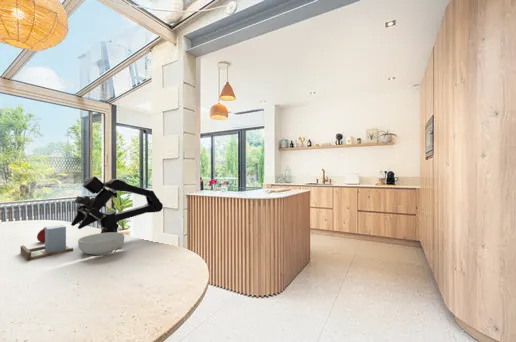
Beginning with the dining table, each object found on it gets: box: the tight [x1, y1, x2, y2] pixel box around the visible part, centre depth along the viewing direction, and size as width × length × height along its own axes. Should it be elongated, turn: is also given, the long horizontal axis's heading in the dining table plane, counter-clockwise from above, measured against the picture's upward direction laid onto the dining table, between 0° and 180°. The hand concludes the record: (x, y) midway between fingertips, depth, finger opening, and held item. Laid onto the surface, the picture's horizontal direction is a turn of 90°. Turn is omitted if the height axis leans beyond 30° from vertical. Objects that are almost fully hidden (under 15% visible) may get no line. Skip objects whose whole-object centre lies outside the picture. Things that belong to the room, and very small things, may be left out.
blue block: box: [44, 224, 67, 253], centre depth 105 cm, size 6×5×10 cm
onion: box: [36, 226, 46, 243], centre depth 117 cm, size 6×6×8 cm
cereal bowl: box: [77, 231, 125, 257], centre depth 105 cm, size 17×17×7 cm
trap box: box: [20, 244, 74, 261], centre depth 103 cm, size 14×13×4 cm
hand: (75, 227), depth 111 cm, fingers open, 9 cm apart
